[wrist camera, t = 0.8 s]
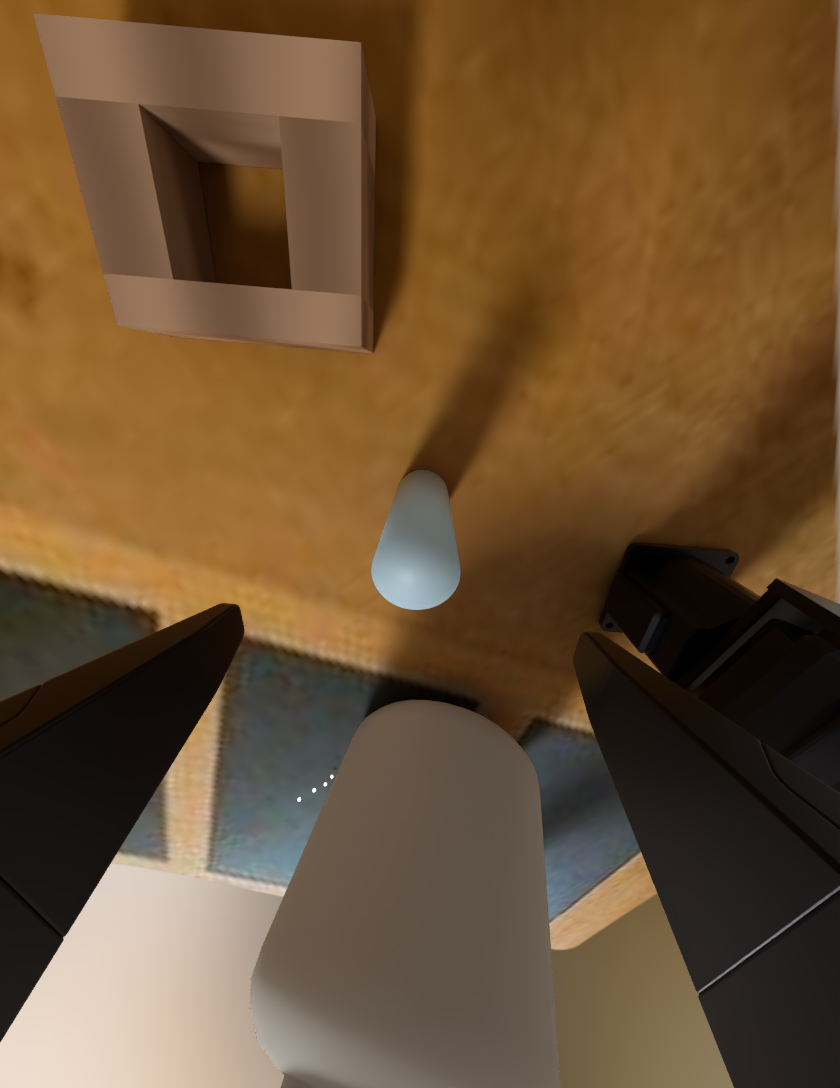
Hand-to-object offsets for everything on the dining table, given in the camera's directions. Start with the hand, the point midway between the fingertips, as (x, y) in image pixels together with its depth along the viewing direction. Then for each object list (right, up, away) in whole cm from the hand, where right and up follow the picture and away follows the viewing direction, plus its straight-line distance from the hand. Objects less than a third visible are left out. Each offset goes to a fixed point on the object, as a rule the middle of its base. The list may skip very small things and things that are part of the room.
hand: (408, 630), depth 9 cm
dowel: (0, +5, +10) cm, 12 cm away
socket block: (-7, +16, +6) cm, 18 cm away
